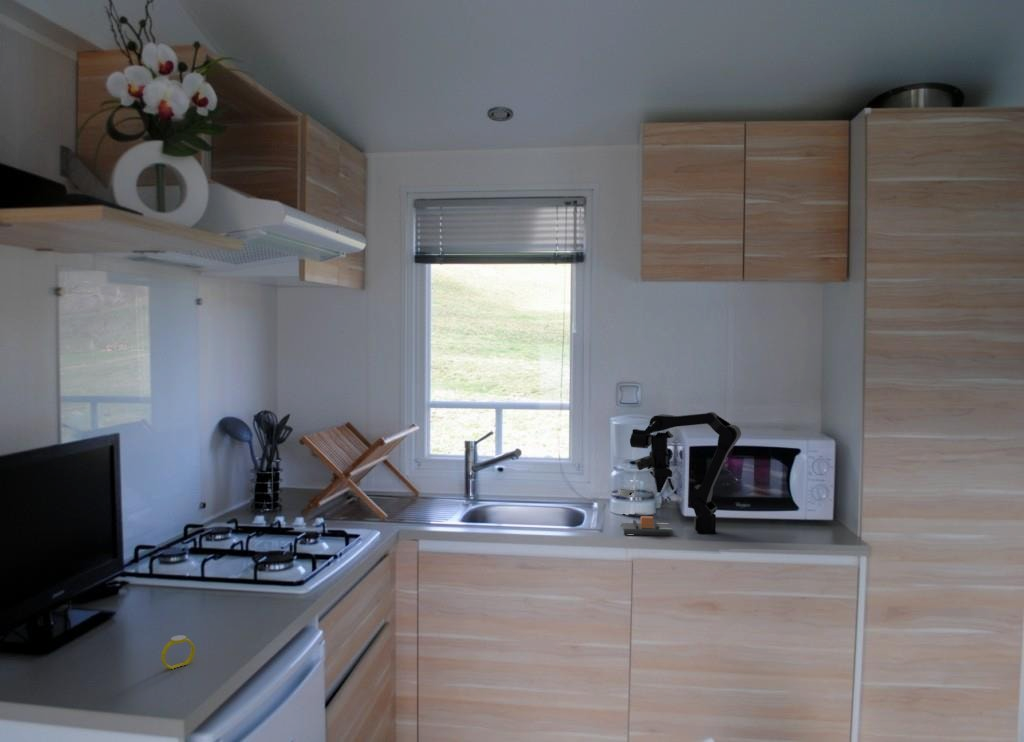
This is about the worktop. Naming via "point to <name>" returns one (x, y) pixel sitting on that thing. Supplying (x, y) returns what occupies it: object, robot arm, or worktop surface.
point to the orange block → (646, 522)
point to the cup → (625, 492)
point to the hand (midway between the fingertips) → (658, 492)
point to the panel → (637, 528)
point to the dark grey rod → (649, 533)
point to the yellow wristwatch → (178, 640)
